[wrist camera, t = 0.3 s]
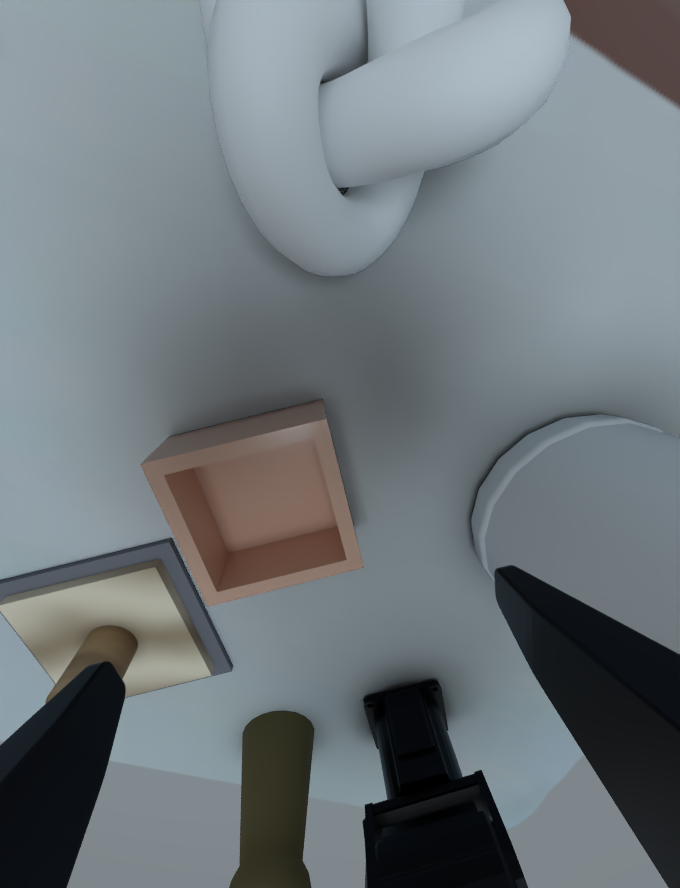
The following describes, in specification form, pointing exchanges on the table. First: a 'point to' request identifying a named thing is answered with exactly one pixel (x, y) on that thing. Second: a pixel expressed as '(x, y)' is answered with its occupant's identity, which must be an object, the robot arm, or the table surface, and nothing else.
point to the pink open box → (256, 502)
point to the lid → (112, 628)
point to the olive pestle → (274, 801)
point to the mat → (124, 559)
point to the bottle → (591, 518)
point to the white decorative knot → (367, 107)
